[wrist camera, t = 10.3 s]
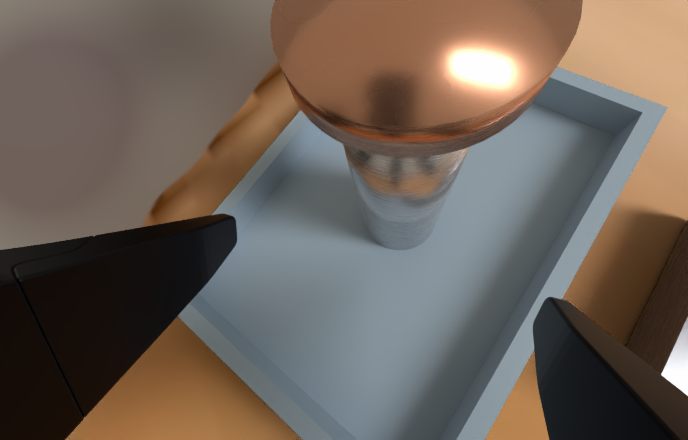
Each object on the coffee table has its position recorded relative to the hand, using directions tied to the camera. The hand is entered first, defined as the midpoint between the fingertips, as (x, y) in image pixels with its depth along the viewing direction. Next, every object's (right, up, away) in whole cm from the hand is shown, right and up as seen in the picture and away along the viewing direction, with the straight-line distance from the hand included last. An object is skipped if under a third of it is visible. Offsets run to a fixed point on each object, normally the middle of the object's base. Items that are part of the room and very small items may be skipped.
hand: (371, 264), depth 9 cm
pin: (+2, +2, +8) cm, 9 cm away
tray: (+2, +1, +9) cm, 9 cm away
